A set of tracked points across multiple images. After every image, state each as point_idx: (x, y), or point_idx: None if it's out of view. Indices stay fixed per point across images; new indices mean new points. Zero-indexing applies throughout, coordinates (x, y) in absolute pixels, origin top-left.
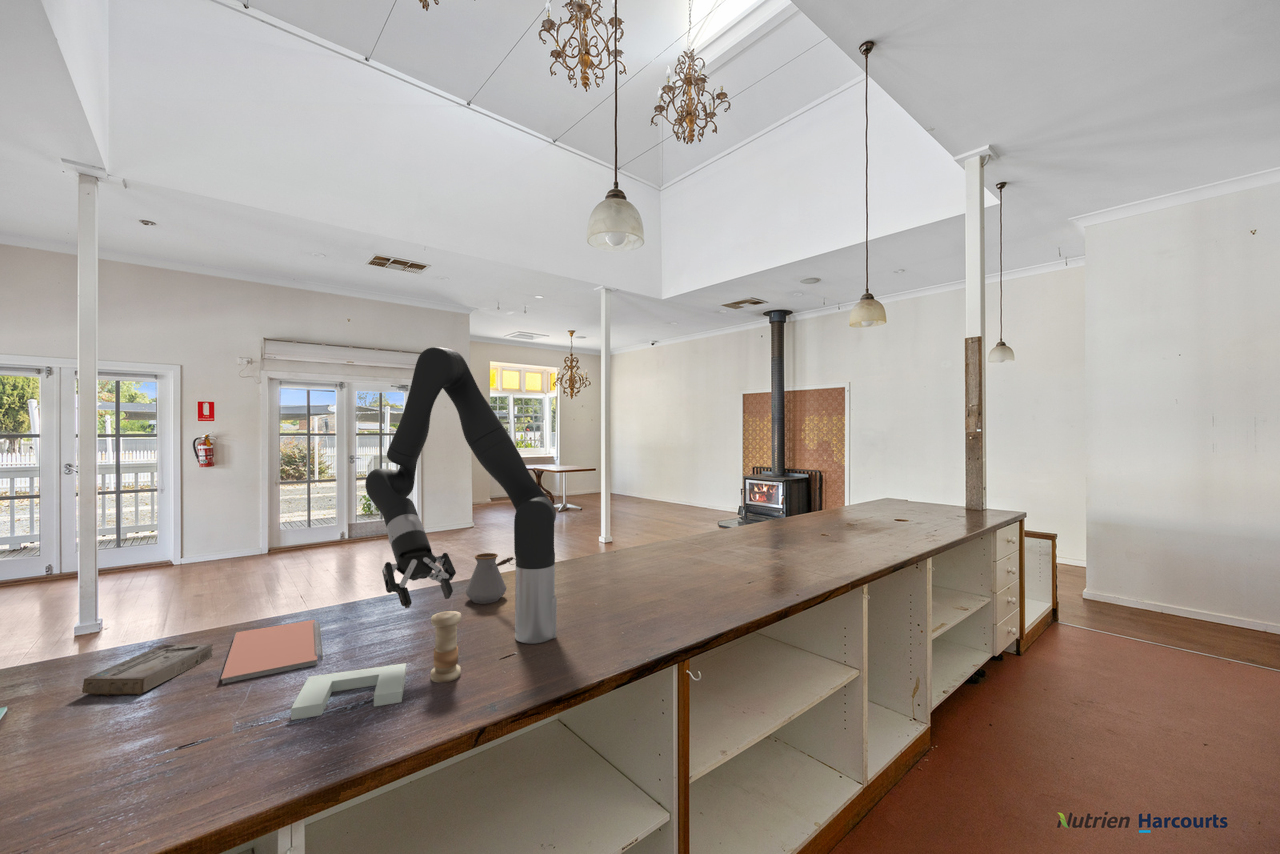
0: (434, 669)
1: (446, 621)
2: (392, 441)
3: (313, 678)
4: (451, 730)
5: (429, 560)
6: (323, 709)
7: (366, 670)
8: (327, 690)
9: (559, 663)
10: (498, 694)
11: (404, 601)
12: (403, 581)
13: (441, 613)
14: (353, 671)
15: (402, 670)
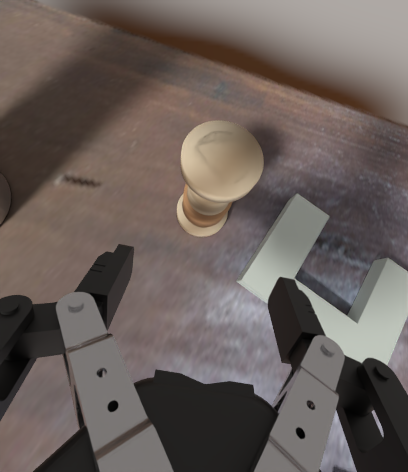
0: (213, 228)
1: (244, 130)
2: None
3: None
4: (282, 96)
5: (113, 466)
6: (371, 268)
7: None
8: (371, 294)
9: (58, 89)
10: (192, 105)
11: (303, 293)
12: (326, 366)
13: (220, 183)
14: None
15: (261, 257)
